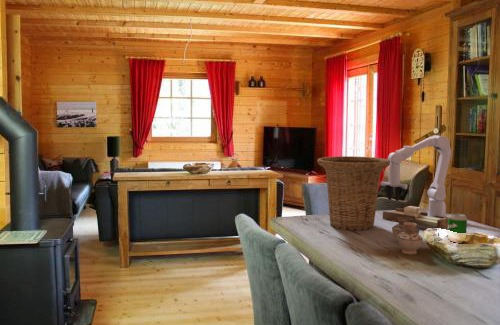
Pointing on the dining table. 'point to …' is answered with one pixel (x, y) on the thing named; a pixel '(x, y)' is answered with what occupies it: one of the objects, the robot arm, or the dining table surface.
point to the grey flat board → (425, 225)
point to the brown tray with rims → (417, 218)
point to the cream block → (412, 211)
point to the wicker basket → (352, 189)
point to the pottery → (407, 235)
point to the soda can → (457, 223)
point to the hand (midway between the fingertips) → (393, 200)
